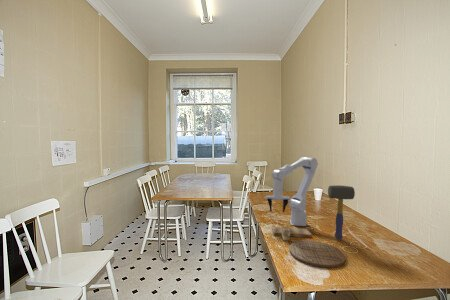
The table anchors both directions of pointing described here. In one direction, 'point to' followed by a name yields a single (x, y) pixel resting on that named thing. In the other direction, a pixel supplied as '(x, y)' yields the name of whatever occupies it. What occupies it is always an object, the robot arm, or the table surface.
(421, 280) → the table surface
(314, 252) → the trivet
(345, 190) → the rubber mallet
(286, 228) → the beige block with handle
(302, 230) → the board
